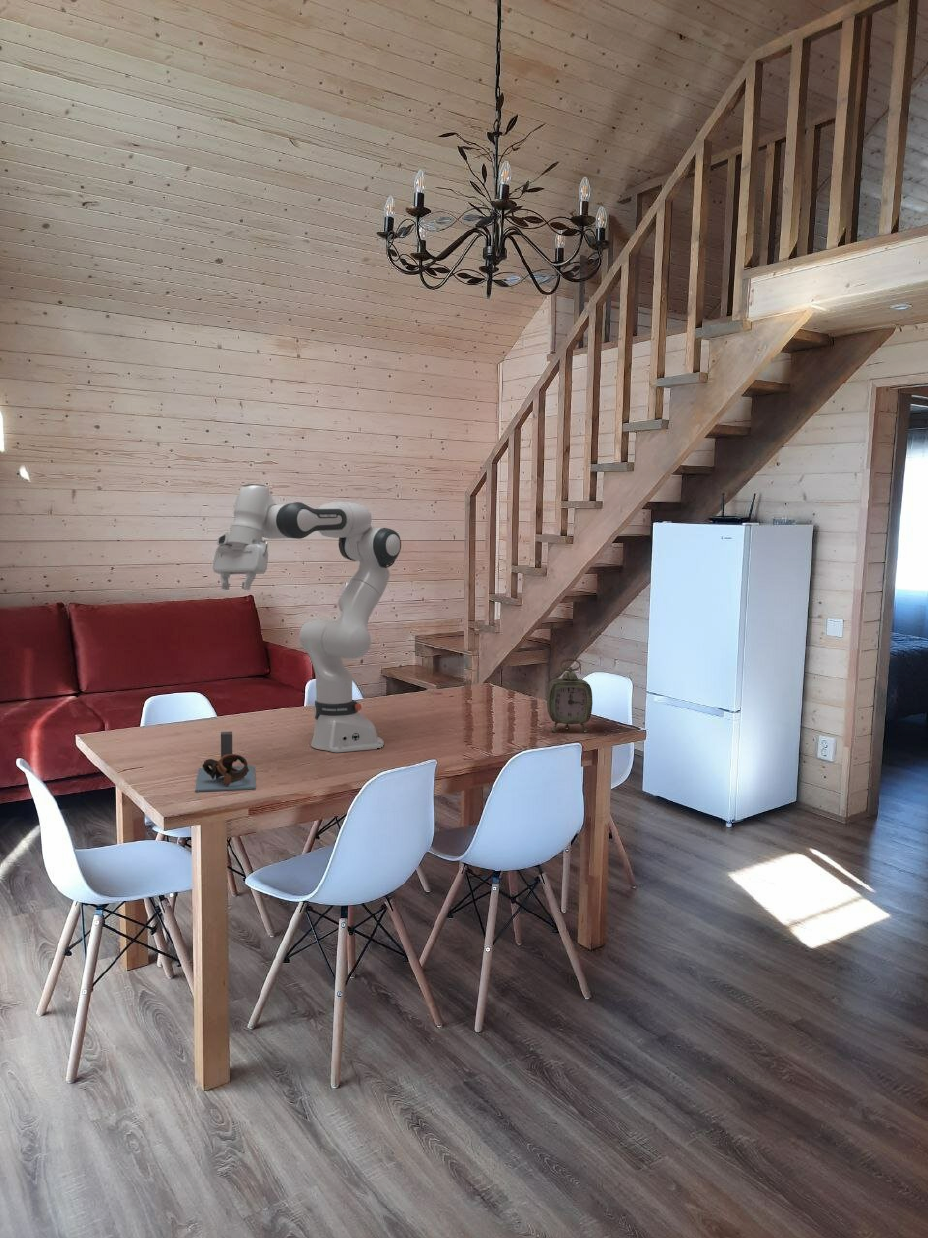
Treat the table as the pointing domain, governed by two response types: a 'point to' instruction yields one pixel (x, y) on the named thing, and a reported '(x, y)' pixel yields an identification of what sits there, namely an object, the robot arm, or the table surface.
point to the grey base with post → (215, 784)
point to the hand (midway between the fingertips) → (235, 589)
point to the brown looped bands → (226, 768)
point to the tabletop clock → (569, 699)
